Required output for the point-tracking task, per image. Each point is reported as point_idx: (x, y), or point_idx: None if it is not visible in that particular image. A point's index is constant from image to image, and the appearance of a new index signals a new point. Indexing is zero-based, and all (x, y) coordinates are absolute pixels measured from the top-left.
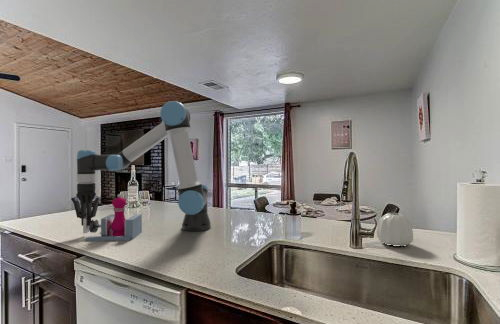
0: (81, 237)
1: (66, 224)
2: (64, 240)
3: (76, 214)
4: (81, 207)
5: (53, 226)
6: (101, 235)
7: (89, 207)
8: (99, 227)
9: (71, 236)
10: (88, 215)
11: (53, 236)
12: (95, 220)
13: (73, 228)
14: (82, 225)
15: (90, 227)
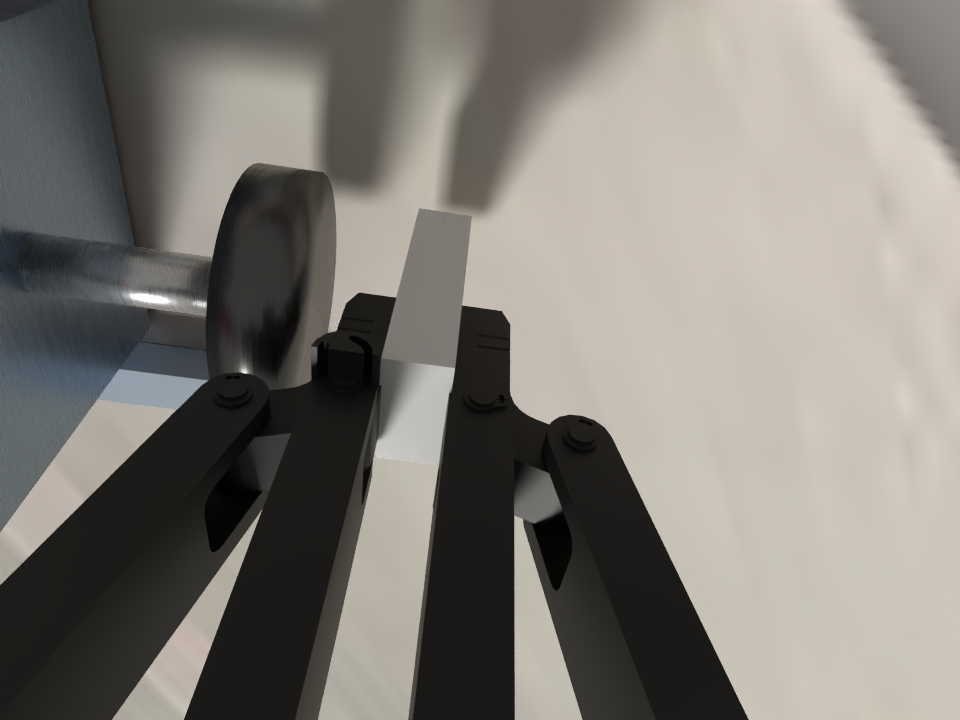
0: (495, 172)
1: (834, 693)
2: (722, 29)
3: (631, 483)
4: (491, 660)
5: (954, 660)
6: (49, 1)
7: (223, 642)
8: (173, 254)
9: (668, 257)
10: (309, 422)
11: (927, 304)
12: (212, 359)
13: (733, 575)
14: (489, 311)
15: (280, 182)
